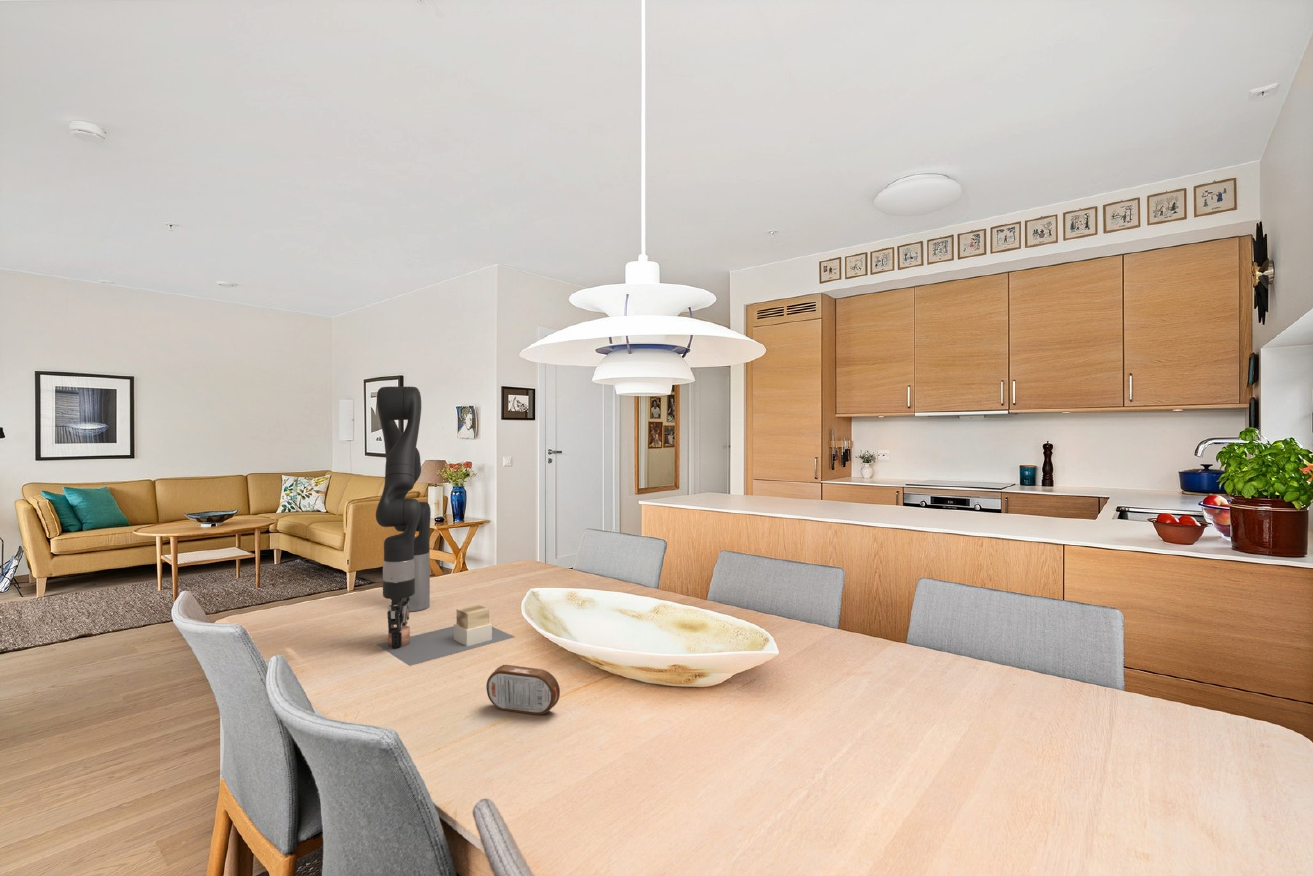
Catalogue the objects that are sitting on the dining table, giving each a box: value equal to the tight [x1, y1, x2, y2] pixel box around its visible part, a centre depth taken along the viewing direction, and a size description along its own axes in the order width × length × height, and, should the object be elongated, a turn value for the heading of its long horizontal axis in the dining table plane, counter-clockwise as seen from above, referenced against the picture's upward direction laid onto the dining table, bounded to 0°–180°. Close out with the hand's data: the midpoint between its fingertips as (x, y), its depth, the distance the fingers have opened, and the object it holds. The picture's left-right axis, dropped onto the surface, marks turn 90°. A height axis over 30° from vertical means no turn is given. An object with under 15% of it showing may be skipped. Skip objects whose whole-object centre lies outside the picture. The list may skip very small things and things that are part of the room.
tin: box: [486, 664, 561, 716], centre depth 118 cm, size 15×3×8 cm, turn 74°
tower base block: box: [453, 622, 493, 646], centre depth 156 cm, size 7×7×4 cm
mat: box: [376, 625, 516, 667], centre depth 155 cm, size 20×28×1 cm
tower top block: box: [456, 603, 490, 629], centre depth 156 cm, size 6×6×4 cm
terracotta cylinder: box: [387, 625, 411, 648], centre depth 153 cm, size 5×5×4 cm
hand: (399, 643), depth 153 cm, fingers closed on terracotta cylinder, 5 cm apart
